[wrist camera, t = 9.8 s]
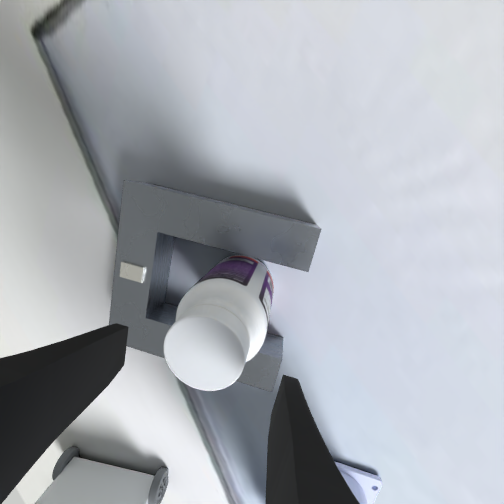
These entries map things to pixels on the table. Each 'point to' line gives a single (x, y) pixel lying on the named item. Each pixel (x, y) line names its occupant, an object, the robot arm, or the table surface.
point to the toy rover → (101, 483)
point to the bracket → (201, 231)
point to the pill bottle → (220, 324)
